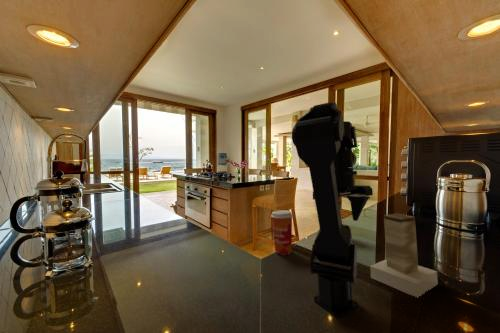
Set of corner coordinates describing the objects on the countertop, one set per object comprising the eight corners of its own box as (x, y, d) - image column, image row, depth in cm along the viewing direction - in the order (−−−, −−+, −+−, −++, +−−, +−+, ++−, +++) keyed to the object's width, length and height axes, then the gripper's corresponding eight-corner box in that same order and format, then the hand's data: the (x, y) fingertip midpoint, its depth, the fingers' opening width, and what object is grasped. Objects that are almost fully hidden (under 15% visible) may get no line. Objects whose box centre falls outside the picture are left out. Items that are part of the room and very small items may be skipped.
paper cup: (268, 252, 71) (266, 212, 72) (280, 246, 77) (278, 209, 77) (287, 258, 66) (285, 215, 66) (299, 251, 72) (297, 211, 72)
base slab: (417, 298, 44) (416, 283, 44) (370, 277, 52) (370, 266, 53) (437, 284, 48) (436, 271, 49) (392, 267, 57) (391, 256, 57)
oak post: (404, 274, 48) (401, 218, 48) (386, 266, 52) (383, 215, 52) (418, 271, 49) (414, 216, 49) (399, 263, 53) (396, 213, 54)
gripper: (339, 168, 70) (342, 214, 69) (297, 169, 61) (300, 222, 60) (372, 166, 60) (375, 220, 59) (328, 168, 51) (331, 231, 51)
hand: (344, 223), depth 58 cm, fingers open, 9 cm apart
